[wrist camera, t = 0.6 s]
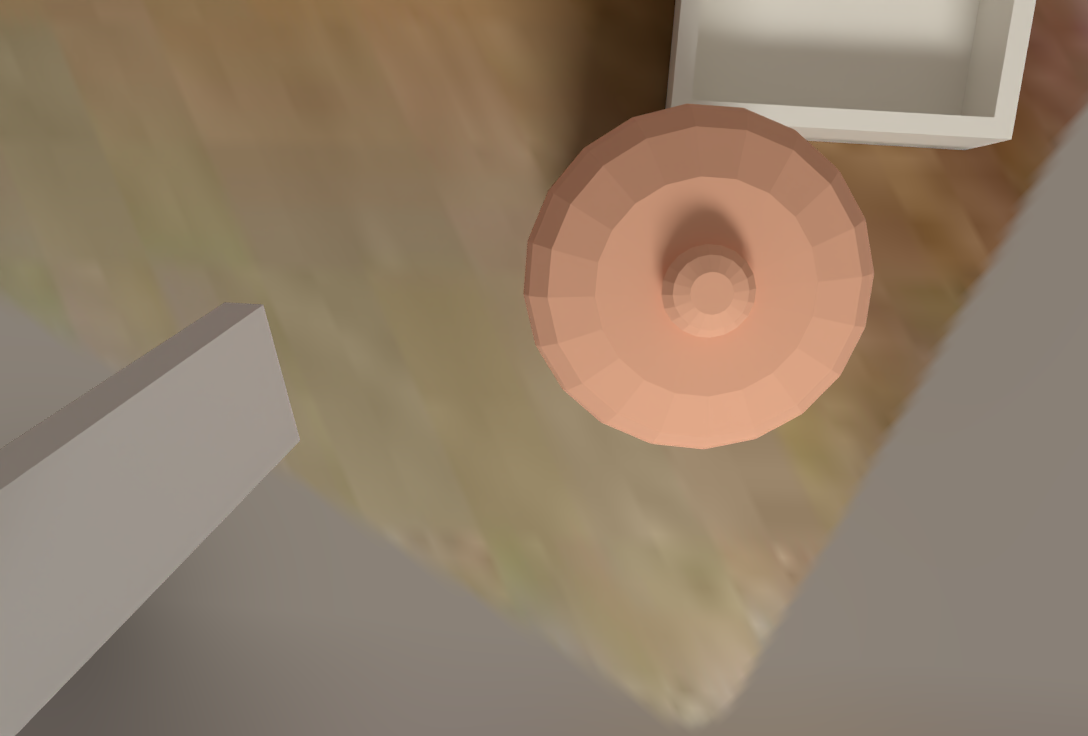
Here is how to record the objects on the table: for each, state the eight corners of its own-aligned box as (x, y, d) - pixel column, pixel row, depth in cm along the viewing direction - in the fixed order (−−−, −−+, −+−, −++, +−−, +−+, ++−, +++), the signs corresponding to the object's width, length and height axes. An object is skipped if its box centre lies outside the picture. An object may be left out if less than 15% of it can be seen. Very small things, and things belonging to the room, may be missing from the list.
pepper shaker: (637, 376, 32) (676, 574, 14) (528, 245, 32) (414, 266, 13) (774, 267, 31) (1025, 321, 12) (664, 129, 31) (753, -34, 12)
